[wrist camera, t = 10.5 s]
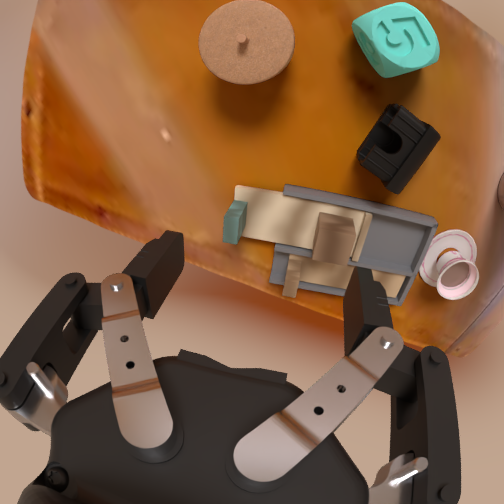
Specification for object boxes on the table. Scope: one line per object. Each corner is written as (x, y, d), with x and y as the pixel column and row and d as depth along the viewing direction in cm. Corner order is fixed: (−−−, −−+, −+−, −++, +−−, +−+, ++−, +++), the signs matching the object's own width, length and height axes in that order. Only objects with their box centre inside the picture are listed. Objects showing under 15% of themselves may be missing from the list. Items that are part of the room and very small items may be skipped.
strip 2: (404, 272, 45) (413, 297, 40) (394, 294, 48) (400, 320, 43) (290, 250, 47) (286, 274, 42) (285, 274, 50) (281, 300, 45)
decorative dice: (425, 61, 28) (448, 59, 21) (377, 78, 31) (392, 78, 25) (397, 10, 25) (415, -3, 18) (347, 27, 28) (355, 15, 22)
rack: (433, 216, 40) (438, 224, 38) (398, 296, 49) (400, 306, 47) (285, 183, 42) (283, 189, 40) (271, 273, 52) (269, 282, 50)
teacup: (405, 273, 46) (413, 297, 41) (441, 217, 40) (454, 237, 35) (451, 292, 46) (461, 315, 41) (486, 243, 39) (501, 263, 34)
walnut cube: (352, 218, 41) (356, 235, 37) (344, 247, 44) (346, 266, 40) (319, 211, 42) (319, 228, 38) (313, 241, 44) (312, 259, 40)
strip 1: (370, 209, 41) (377, 231, 35) (356, 254, 45) (360, 279, 40) (236, 184, 43) (224, 202, 38) (233, 231, 48) (222, 253, 42)
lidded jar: (310, 68, 32) (309, 65, 25) (236, 94, 36) (215, 100, 29) (279, 1, 28) (269, -19, 20) (206, 31, 32) (178, 21, 24)
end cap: (391, 183, 39) (403, 201, 33) (353, 155, 38) (359, 169, 32) (429, 130, 33) (448, 141, 28) (391, 99, 32) (405, 104, 27)
